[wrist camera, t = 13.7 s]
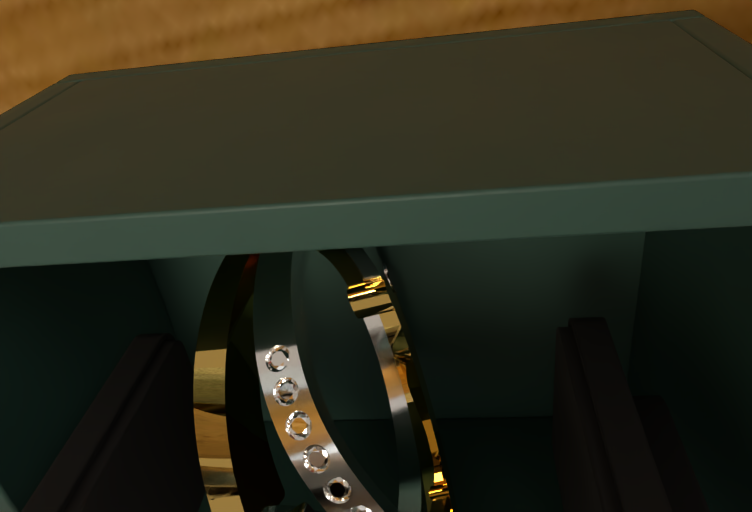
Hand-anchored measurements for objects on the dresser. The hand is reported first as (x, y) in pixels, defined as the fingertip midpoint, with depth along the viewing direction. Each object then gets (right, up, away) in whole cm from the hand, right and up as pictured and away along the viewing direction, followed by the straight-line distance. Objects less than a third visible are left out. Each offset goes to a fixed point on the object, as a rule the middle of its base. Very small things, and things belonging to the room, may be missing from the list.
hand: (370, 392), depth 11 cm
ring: (0, +2, +3) cm, 4 cm away
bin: (0, +2, +3) cm, 4 cm away
